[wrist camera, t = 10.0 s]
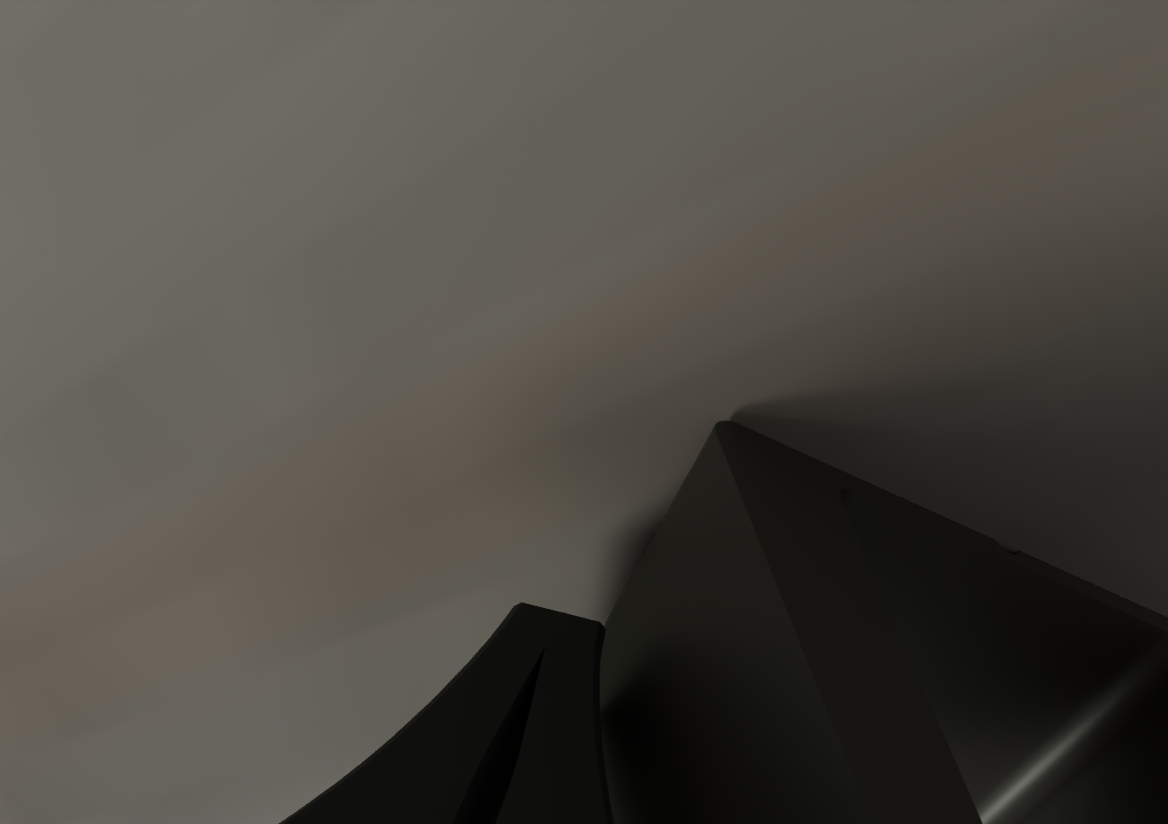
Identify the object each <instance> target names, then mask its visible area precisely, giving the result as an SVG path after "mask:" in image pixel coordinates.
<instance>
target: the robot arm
mask: <svg viewBox="0 0 1168 824" xmlns="http://www.w3.org/2000/svg"><path fill="white" fill-rule="evenodd" d="M605 632H606V629H605V628H604V627H603V625H602V624H601V623H600V622H598V621H594V620H590V619H586V618H582V617H578V616H574V615H570V614H566V613H562V612H558V611H554V610H550V609H546V608H542V607H538V606H534V605H530V604H526V603H522V602H521V603H519V604H517V605H515V606H514V607H513V608H512V609H511V611H510V612H509V614H508V615H507V617H506V618H505V619H504V621H503V622H502V623H501V624H500V626H499V627H498V628H497V630H496V631H495V632H494V633H493V634H492V636H491V637H490V638H489V639H488V640H487V642H486V643H485V644H484V645H483V646H482V647H481V649H480V650H479V651H478V652H477V653H476V654H475V655H474V657H473V658H472V659H471V660H470V661H469V662H468V663H467V664H466V665H465V666H464V668H463V669H462V670H461V671H460V672H459V673H458V674H457V675H456V676H455V677H454V678H453V679H452V680H451V681H450V682H449V683H448V684H447V685H446V686H445V687H444V688H443V689H442V691H441V692H440V693H439V694H438V695H437V696H436V697H435V698H434V699H433V700H432V701H431V702H430V703H429V704H427V705H426V706H425V707H424V708H423V709H422V710H421V711H420V712H419V713H418V714H417V715H416V716H415V717H413V718H412V719H411V720H410V721H409V722H408V723H407V724H406V725H405V726H404V727H403V728H402V729H401V730H399V731H398V732H397V733H396V734H395V735H394V736H393V737H392V738H391V739H389V740H388V741H387V742H386V743H385V744H384V745H382V746H381V747H380V748H379V749H378V750H377V751H375V752H374V753H373V754H372V755H371V756H369V757H368V758H367V759H366V760H365V761H363V762H362V763H361V764H360V765H358V766H357V767H356V768H355V769H353V770H352V771H351V772H350V773H348V774H347V775H346V776H344V777H343V778H342V779H341V780H339V781H338V782H337V783H335V784H334V785H333V786H331V787H330V788H329V789H327V790H326V791H324V792H323V793H322V794H320V795H319V796H317V797H316V798H315V799H313V800H312V801H311V802H309V803H308V804H306V805H305V806H304V807H302V808H301V809H299V810H298V811H297V812H295V813H294V814H292V815H291V816H289V817H288V818H286V819H285V820H283V821H282V822H281V823H279V824H614V822H613V816H612V810H611V804H610V798H609V791H608V784H607V777H606V770H605V761H604V753H603V741H602V728H601V716H600V662H601V653H602V648H603V643H604V638H605Z"/></svg>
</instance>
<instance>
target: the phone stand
mask: <svg viewBox="0 0 1168 824" xmlns="http://www.w3.org/2000/svg"><path fill="white" fill-rule="evenodd" d="M604 628H605V629H606V632H605V638H604V643H603V648H602V653H601V662H600V716H601V728H602V741H603V753H604V761H605V770H606V777H607V784H608V791H609V798H610V804H611V810H612V816H613V822H614V824H1168V618H1167V617H1165V616H1163V615H1161V614H1158V613H1156V612H1154V611H1152V610H1150V609H1147V608H1145V607H1143V606H1141V605H1138V604H1136V603H1134V602H1132V601H1130V600H1127V599H1125V598H1123V597H1121V596H1119V595H1116V594H1114V593H1112V592H1110V591H1107V590H1105V589H1103V588H1101V587H1099V586H1096V585H1094V584H1092V583H1090V582H1087V581H1085V580H1083V579H1081V578H1079V577H1076V576H1074V575H1072V574H1070V573H1067V572H1065V571H1063V570H1061V569H1059V568H1056V567H1054V566H1052V565H1050V564H1048V563H1045V562H1043V561H1041V560H1039V559H1036V558H1034V557H1032V556H1030V555H1028V554H1025V553H1023V552H1021V551H1019V550H1018V552H1017V553H1016V554H1011V553H1009V552H1007V551H1005V550H1004V549H1002V548H1001V547H1000V546H999V545H998V544H997V543H996V542H995V540H994V539H992V538H990V537H988V536H985V535H983V534H981V533H979V532H977V531H974V530H972V529H970V528H968V527H965V526H963V525H961V524H959V523H957V522H954V521H952V520H950V519H948V518H946V517H943V516H941V515H939V514H937V513H934V512H932V511H930V510H928V509H926V508H923V507H921V506H919V505H917V504H914V503H912V502H910V501H908V500H906V499H903V498H901V497H899V496H897V495H895V494H892V493H890V492H888V491H886V490H883V489H881V488H879V487H877V486H875V485H872V484H870V483H868V482H866V481H863V480H861V479H859V478H857V477H855V476H852V475H850V474H848V473H846V472H844V471H841V470H839V469H837V468H835V467H832V466H830V465H828V464H826V463H824V462H821V461H819V460H817V459H815V458H812V457H810V456H808V455H806V454H804V453H801V452H799V451H797V450H795V449H793V448H790V447H788V446H786V445H784V444H781V443H779V442H777V441H775V440H773V439H770V438H768V437H766V436H764V435H761V434H759V433H757V432H755V431H753V430H750V429H748V428H746V427H744V426H742V425H739V424H737V423H734V422H730V421H721V422H718V423H717V424H716V425H715V427H714V428H713V430H712V432H711V434H710V436H709V438H708V439H707V441H706V443H705V445H704V447H703V448H702V450H701V452H700V454H699V456H698V457H697V459H696V461H695V463H694V465H693V466H692V468H691V470H690V472H689V474H688V475H687V477H686V479H685V481H684V483H683V484H682V486H681V488H680V490H679V492H678V493H677V495H676V497H675V499H674V501H673V502H672V504H671V506H670V508H669V510H668V512H667V513H666V515H665V517H664V519H663V521H662V522H661V524H660V526H659V528H658V530H657V531H656V533H655V535H654V537H653V539H652V540H651V542H650V544H649V546H648V548H647V549H646V551H645V553H644V555H643V557H642V558H641V560H640V562H639V564H638V566H637V567H636V569H635V571H634V573H633V575H632V576H631V578H630V580H629V582H628V584H627V585H626V587H625V589H624V591H623V593H622V595H621V596H620V598H619V600H618V602H617V604H616V605H615V607H614V609H613V611H612V613H611V614H610V616H609V618H608V620H607V622H606V623H605V625H604Z"/></svg>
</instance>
